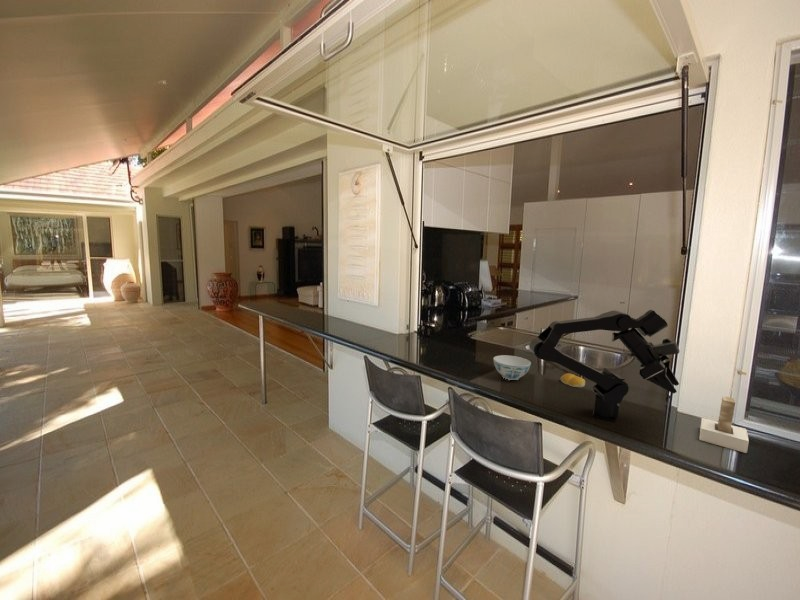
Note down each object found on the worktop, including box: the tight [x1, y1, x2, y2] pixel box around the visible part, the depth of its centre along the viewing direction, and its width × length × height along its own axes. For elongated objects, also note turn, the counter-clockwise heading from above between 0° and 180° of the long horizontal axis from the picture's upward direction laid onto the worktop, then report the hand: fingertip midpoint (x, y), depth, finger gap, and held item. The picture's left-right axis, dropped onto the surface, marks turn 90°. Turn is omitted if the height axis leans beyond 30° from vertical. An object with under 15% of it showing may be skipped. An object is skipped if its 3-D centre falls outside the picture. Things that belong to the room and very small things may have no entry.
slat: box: [717, 395, 736, 434], centre depth 103 cm, size 2×4×12 cm, turn 140°
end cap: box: [699, 417, 750, 454], centre depth 104 cm, size 10×10×4 cm
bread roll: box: [560, 372, 586, 388], centre depth 147 cm, size 8×9×4 cm
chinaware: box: [493, 354, 532, 381], centre depth 150 cm, size 15×15×8 cm
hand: (676, 388), depth 106 cm, fingers open, 9 cm apart
